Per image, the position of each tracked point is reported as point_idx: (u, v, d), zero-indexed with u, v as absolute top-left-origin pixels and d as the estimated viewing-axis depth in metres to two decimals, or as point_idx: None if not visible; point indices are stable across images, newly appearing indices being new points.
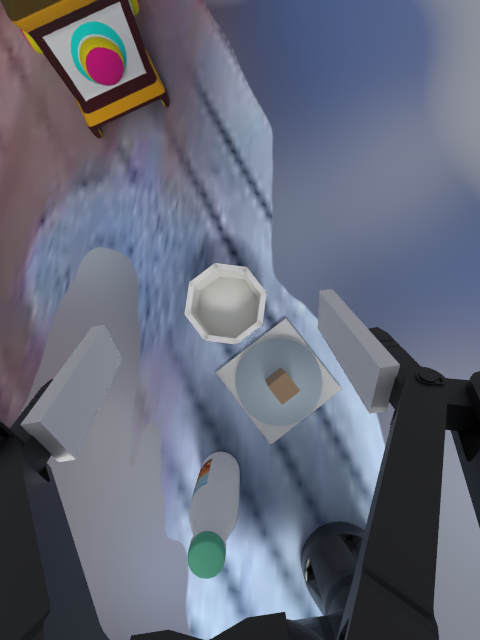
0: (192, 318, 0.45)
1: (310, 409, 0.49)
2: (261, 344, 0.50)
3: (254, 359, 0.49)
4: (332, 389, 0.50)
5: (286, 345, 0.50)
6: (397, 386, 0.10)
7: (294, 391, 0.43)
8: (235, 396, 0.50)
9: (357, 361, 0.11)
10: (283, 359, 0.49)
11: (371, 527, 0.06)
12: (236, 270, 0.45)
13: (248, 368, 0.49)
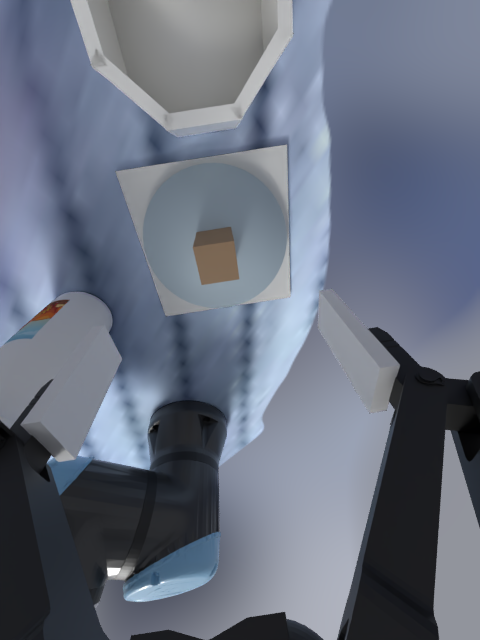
0: None
1: (238, 302, 0.34)
2: (219, 168, 0.26)
3: (195, 188, 0.27)
4: (279, 291, 0.35)
5: (258, 195, 0.27)
6: (397, 386, 0.10)
7: (231, 275, 0.26)
8: (139, 232, 0.29)
9: (357, 361, 0.11)
10: (241, 216, 0.28)
11: (371, 527, 0.06)
12: None
13: (178, 197, 0.27)
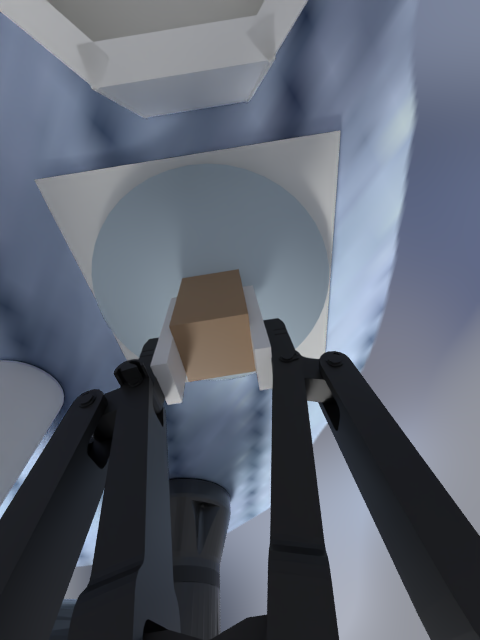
0: None
1: (249, 371, 0.23)
2: (220, 173, 0.14)
3: (176, 209, 0.15)
4: (309, 354, 0.24)
5: (287, 218, 0.16)
6: (272, 365, 0.11)
7: (241, 366, 0.14)
8: (88, 277, 0.18)
9: (252, 346, 0.13)
10: (256, 253, 0.17)
11: (271, 504, 0.06)
12: None
13: (147, 224, 0.15)
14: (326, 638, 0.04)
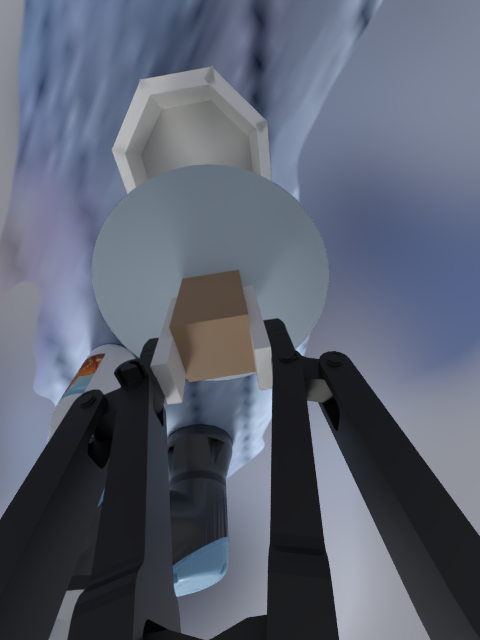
0: (125, 167, 0.23)
1: None
2: (220, 173, 0.14)
3: (177, 209, 0.15)
4: None
5: (287, 219, 0.16)
6: (272, 365, 0.11)
7: (241, 366, 0.14)
8: None
9: (252, 346, 0.13)
10: (257, 254, 0.17)
11: (271, 504, 0.06)
12: (244, 116, 0.22)
13: (148, 225, 0.15)
14: (326, 638, 0.04)
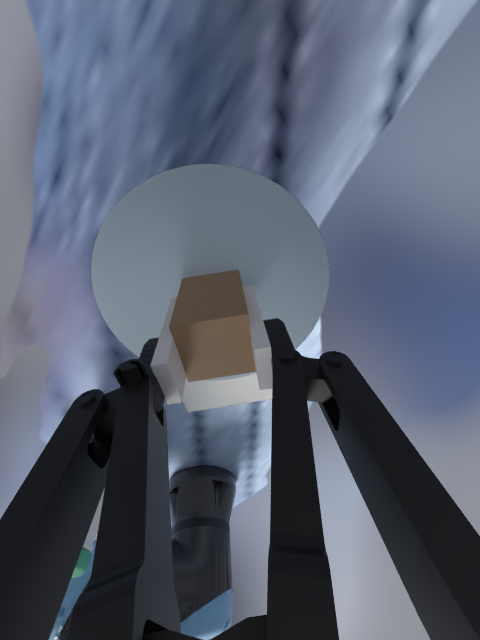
0: None
1: None
2: (220, 173, 0.14)
3: (177, 209, 0.15)
4: None
5: (287, 219, 0.16)
6: (272, 365, 0.11)
7: (241, 366, 0.14)
8: None
9: (252, 346, 0.13)
10: (257, 253, 0.17)
11: (271, 504, 0.06)
12: None
13: (147, 224, 0.15)
14: (326, 638, 0.04)
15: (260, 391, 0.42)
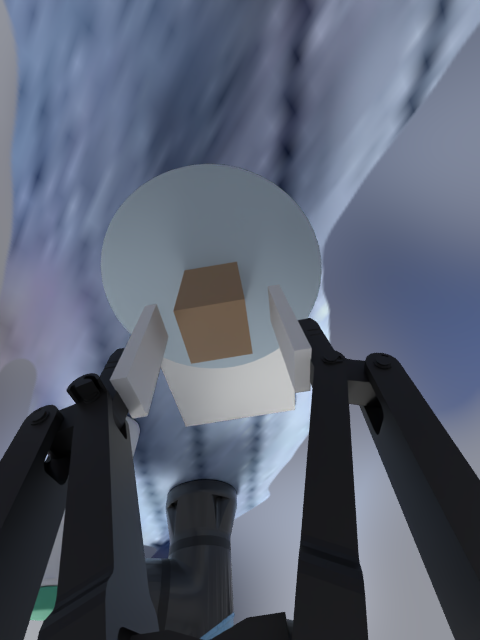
0: None
1: (247, 360, 0.24)
2: (218, 172, 0.16)
3: (179, 205, 0.16)
4: (285, 406, 0.40)
5: (281, 214, 0.17)
6: (311, 367, 0.11)
7: (239, 348, 0.16)
8: (166, 375, 0.35)
9: (286, 347, 0.13)
10: (253, 246, 0.18)
11: (304, 506, 0.06)
12: None
13: (152, 220, 0.17)
14: None
15: (263, 405, 0.40)
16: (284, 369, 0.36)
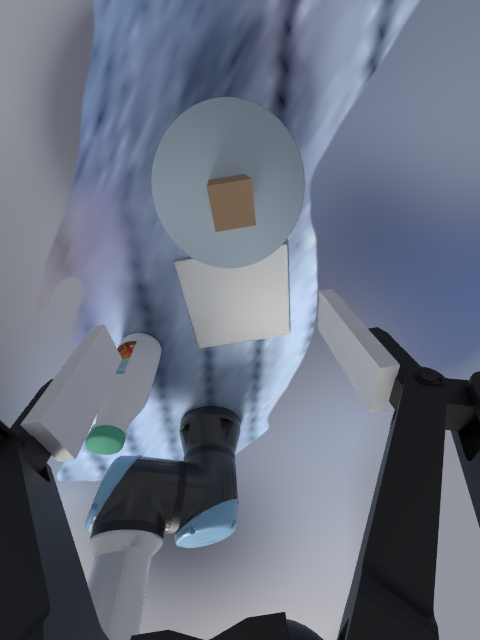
0: None
1: (251, 261, 0.33)
2: (234, 103, 0.24)
3: (207, 127, 0.25)
4: (281, 331, 0.49)
5: (275, 136, 0.25)
6: (397, 386, 0.10)
7: (247, 220, 0.24)
8: (185, 296, 0.43)
9: (357, 361, 0.11)
10: (256, 161, 0.26)
11: (371, 527, 0.06)
12: None
13: (189, 138, 0.25)
14: None
15: (263, 329, 0.48)
16: (280, 293, 0.44)
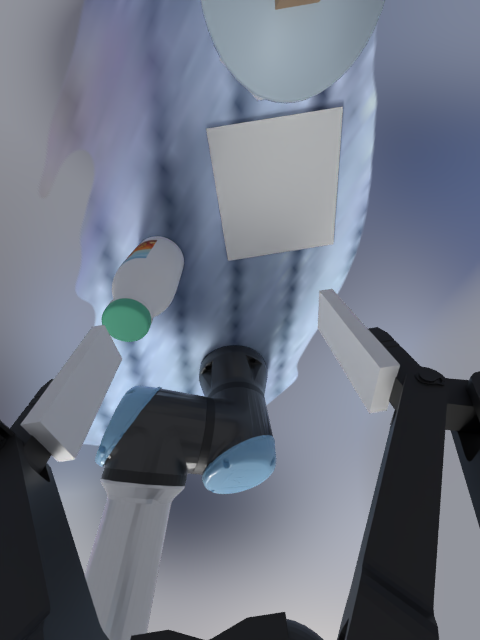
0: None
1: (313, 90, 0.26)
2: None
3: None
4: (324, 239, 0.42)
5: None
6: (397, 386, 0.10)
7: None
8: (216, 182, 0.36)
9: (357, 361, 0.11)
10: None
11: (371, 527, 0.06)
12: None
13: None
14: None
15: (304, 234, 0.41)
16: (328, 182, 0.37)
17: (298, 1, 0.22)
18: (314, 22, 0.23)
